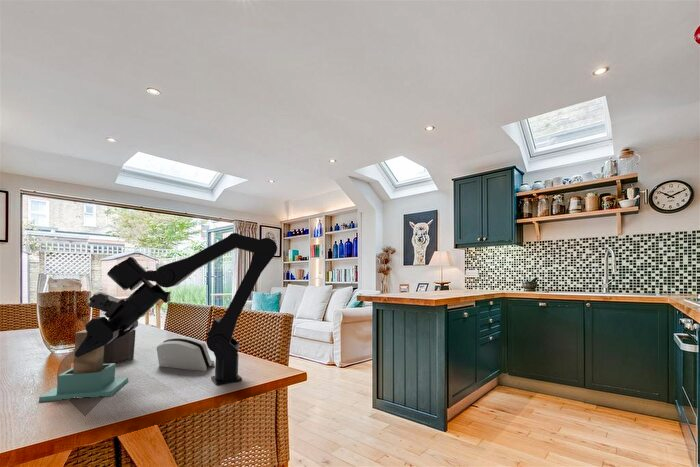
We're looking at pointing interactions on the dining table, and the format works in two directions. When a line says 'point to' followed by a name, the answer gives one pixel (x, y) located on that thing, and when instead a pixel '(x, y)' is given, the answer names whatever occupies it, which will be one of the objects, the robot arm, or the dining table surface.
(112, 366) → the well
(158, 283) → the robot arm
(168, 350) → the grey curved block
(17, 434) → the dining table surface
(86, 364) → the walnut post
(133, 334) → the dark brown wooden block
